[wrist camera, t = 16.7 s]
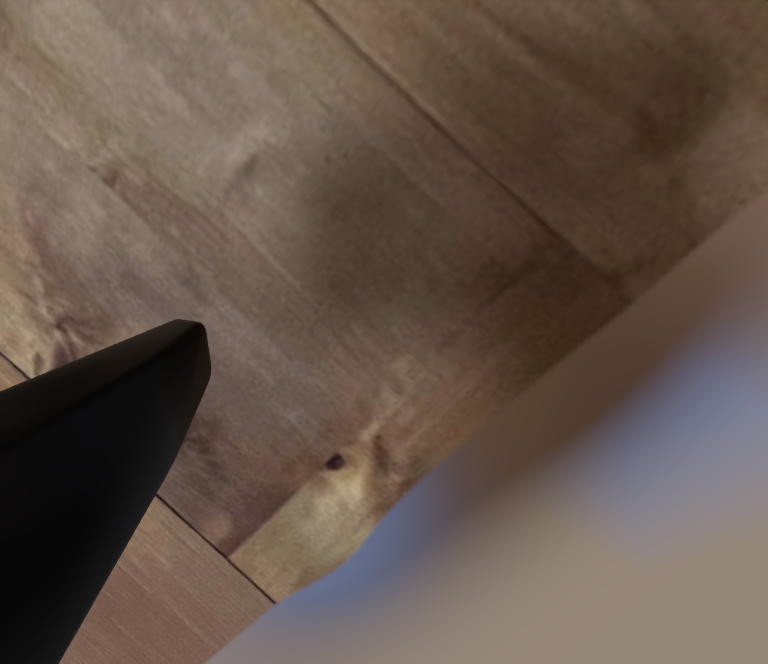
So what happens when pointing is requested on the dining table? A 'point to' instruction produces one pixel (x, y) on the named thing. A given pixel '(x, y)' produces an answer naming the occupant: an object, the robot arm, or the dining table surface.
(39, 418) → the robot arm
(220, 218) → the dining table surface
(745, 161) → the dining table surface
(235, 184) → the dining table surface
